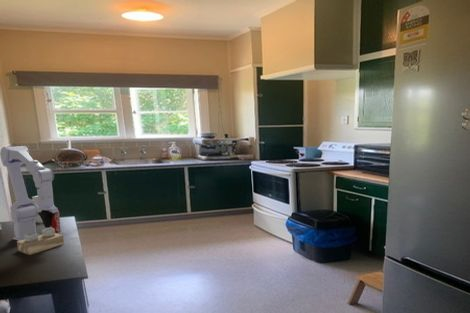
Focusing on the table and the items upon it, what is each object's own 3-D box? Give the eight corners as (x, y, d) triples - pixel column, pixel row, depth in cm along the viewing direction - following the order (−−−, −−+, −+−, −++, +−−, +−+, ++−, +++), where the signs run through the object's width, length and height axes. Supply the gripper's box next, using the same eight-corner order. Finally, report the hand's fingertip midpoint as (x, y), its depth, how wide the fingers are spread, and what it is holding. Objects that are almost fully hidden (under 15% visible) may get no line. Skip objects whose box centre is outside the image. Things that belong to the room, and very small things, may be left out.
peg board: (17, 250, 132) (16, 241, 131) (51, 240, 143) (51, 231, 143) (29, 255, 126) (28, 245, 126) (63, 243, 138) (63, 235, 138)
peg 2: (42, 238, 137) (41, 229, 137) (51, 235, 140) (50, 227, 140) (46, 239, 135) (46, 230, 135) (55, 237, 138) (54, 228, 138)
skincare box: (41, 223, 173) (38, 197, 171) (33, 222, 175) (31, 196, 174) (54, 219, 180) (52, 193, 179) (47, 218, 183) (45, 193, 181)
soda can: (55, 235, 150) (52, 211, 149) (45, 235, 151) (43, 211, 150) (63, 232, 155) (61, 208, 154) (54, 231, 156) (52, 208, 155)
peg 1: (25, 243, 131) (24, 234, 131) (34, 240, 134) (33, 231, 134) (29, 245, 129) (28, 235, 129) (38, 242, 132) (37, 233, 132)
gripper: (27, 197, 136) (30, 227, 138) (44, 199, 129) (47, 231, 130) (44, 194, 142) (46, 223, 144) (61, 196, 135) (64, 227, 136)
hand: (48, 227), depth 137 cm, fingers closed
